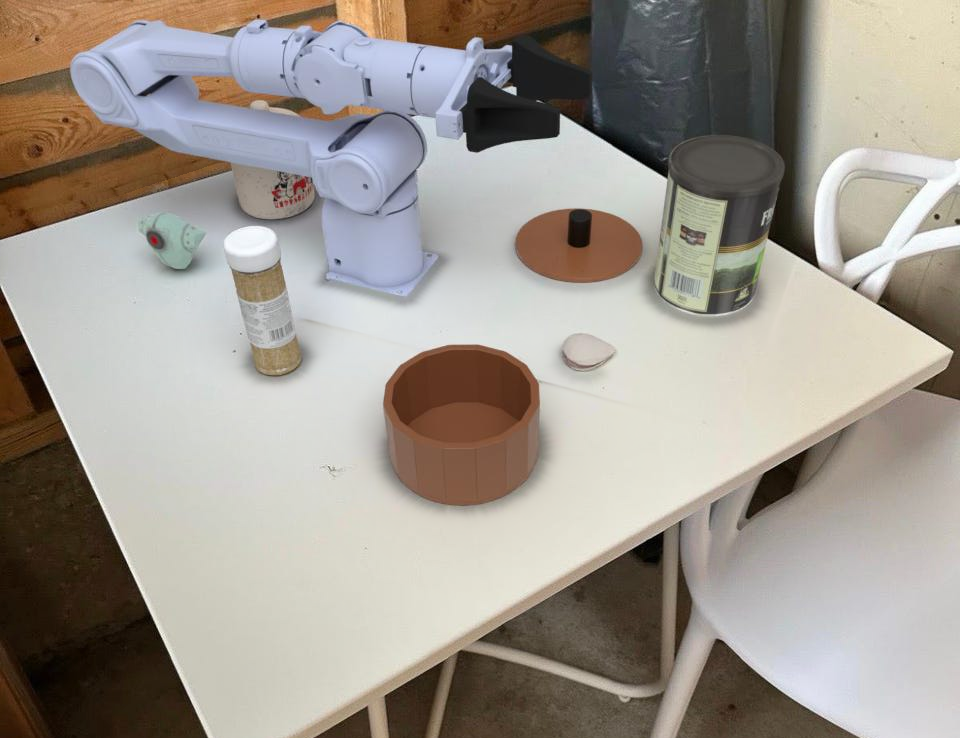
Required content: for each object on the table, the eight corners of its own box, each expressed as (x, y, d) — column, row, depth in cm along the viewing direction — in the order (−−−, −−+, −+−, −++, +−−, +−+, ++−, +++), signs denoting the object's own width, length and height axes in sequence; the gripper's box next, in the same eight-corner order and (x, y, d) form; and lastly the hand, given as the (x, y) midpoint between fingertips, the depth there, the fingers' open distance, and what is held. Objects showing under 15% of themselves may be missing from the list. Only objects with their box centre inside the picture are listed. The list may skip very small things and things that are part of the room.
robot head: (221, 268, 98) (206, 211, 93) (197, 289, 95) (180, 232, 91) (160, 251, 100) (142, 195, 96) (135, 271, 98) (116, 215, 93)
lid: (496, 270, 97) (495, 235, 94) (541, 207, 105) (542, 172, 102) (619, 299, 93) (623, 263, 90) (656, 231, 101) (661, 195, 98)
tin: (365, 479, 76) (355, 422, 72) (430, 387, 84) (425, 330, 80) (503, 523, 73) (503, 466, 68) (558, 422, 81) (561, 365, 76)
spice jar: (293, 341, 89) (268, 218, 79) (309, 369, 86) (284, 244, 77) (247, 355, 88) (215, 231, 78) (261, 383, 85) (230, 259, 75)
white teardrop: (558, 349, 88) (559, 327, 86) (611, 345, 88) (613, 324, 86) (565, 378, 85) (567, 357, 83) (619, 374, 85) (622, 353, 83)
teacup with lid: (286, 229, 103) (266, 130, 94) (221, 210, 106) (197, 112, 98) (346, 180, 110) (333, 83, 102) (284, 163, 113) (266, 68, 105)
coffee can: (754, 265, 96) (784, 137, 86) (754, 326, 89) (786, 194, 79) (655, 256, 98) (672, 129, 88) (647, 314, 91) (665, 184, 81)
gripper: (381, 67, 73) (543, 91, 68) (459, 3, 82) (606, 21, 77) (391, 152, 78) (542, 179, 73) (463, 83, 87) (601, 103, 82)
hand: (575, 103), depth 76 cm, fingers open, 7 cm apart
